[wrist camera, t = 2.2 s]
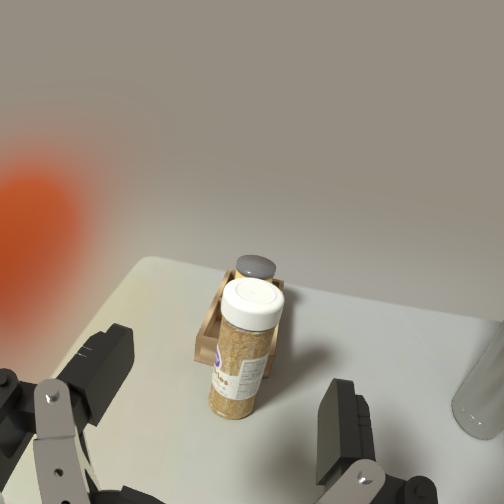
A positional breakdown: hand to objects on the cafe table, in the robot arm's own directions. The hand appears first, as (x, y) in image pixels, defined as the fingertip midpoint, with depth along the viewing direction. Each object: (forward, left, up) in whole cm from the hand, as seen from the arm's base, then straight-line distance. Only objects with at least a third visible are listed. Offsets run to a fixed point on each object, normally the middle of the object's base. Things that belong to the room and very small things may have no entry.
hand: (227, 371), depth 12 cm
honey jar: (-13, -24, -16) cm, 32 cm away
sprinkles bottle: (-6, -10, -17) cm, 20 cm away
